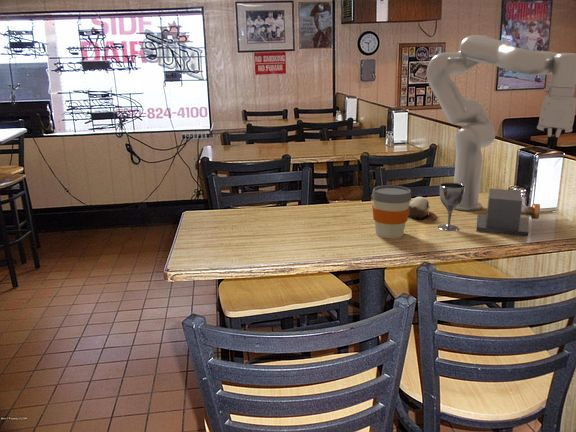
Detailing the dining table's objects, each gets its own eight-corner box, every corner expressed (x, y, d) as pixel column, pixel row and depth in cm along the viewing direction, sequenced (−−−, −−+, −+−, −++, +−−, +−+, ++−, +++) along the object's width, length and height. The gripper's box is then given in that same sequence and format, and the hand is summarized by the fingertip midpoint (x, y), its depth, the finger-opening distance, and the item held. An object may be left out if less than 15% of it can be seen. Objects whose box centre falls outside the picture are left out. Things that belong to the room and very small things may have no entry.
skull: (409, 207, 206) (428, 190, 200) (426, 228, 203) (446, 212, 197) (394, 213, 197) (413, 195, 191) (412, 235, 194) (432, 218, 188)
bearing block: (476, 231, 181) (479, 198, 178) (477, 217, 195) (480, 187, 192) (528, 236, 176) (532, 202, 172) (525, 222, 190) (529, 190, 187)
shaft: (487, 216, 184) (488, 202, 182) (487, 212, 188) (488, 198, 187) (538, 220, 179) (540, 206, 177) (537, 216, 183) (539, 202, 182)
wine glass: (462, 225, 187) (466, 183, 182) (458, 232, 180) (463, 189, 175) (438, 223, 190) (442, 181, 185) (434, 229, 183) (438, 186, 179)
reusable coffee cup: (363, 230, 182) (364, 187, 178) (394, 226, 187) (397, 183, 182) (383, 242, 171) (386, 196, 167) (416, 237, 176) (419, 192, 171)
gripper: (536, 92, 175) (527, 148, 181) (588, 95, 170) (576, 152, 176) (535, 90, 182) (526, 144, 188) (585, 93, 177) (574, 148, 183)
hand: (550, 148), depth 182 cm, fingers closed
